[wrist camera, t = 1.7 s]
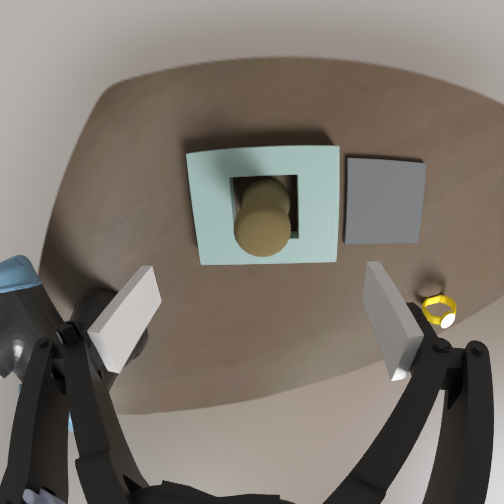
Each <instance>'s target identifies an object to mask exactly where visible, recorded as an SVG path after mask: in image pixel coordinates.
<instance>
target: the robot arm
mask: <svg viewBox="0 0 504 504" xmlns="http://www.w3.org/2000/svg"><path fill="white" fill-rule="evenodd" d="M42 283H43V281H42V280H41V279H40V278H39V277H38V275H37V273H36V272H35V270H34V268H33V266H32V264H31V262H30V261H29V259H27V257H25V256H23V255H17V256H14V257H11V258H9V259H7V260H5V261H3V262H1V263H0V379H4V378H6V377H7V376H8V375H9V374H10V373H11V372H12V371H13V372H14V373H15V374H16V375H17V377H18V378H19V379H20V380H21V382H22V384H20V385H19V389H18V392H19V398H18V402H17V407H16V411H15V416H14V421H13V427H12V433H11V440H10V447H9V455H8V465H7V468H6V471H5V474H4V476H3V479H2V482H1V485H0V504H68V494H69V493H68V461H67V459H68V458H67V456H68V453H67V451H68V430H69V431H72V432H74V436H75V440H76V444H77V448H78V452H79V456H80V457H79V459H76V460H75V465H76V470H77V473H78V476H79V480H80V483H81V486H82V489H83V492H84V495H85V498H86V500H87V503H88V504H295V503H293V502H289V501H286V500H282V499H280V495H265V494H244V495H236V496H227V497H216V496H213V495H210V494H207V493H205V492H202V491H200V490H197V489H195V488H192V487H190V486H186V485H182V484H177V483H173V482H169V481H164V480H163V481H162V484H161V485H155V486H149V484H148V483H147V482H146V480H145V479H144V478H143V477H142V475H141V473H140V471H139V469H138V467H137V465H136V463H135V461H134V458H133V456H132V454H131V452H130V449H129V447H128V445H127V442H126V440H125V438H124V435H123V432H122V430H121V427H120V424H119V421H118V419H117V416H116V413H115V410H114V407H113V404H112V401H111V398H110V394H109V391H110V389H111V387H112V385H113V383H114V381H115V379H116V377H117V375H118V374H119V373H120V372H121V370H122V368H124V367H125V366H126V365H127V364H128V363H129V362H130V361H131V360H132V359H135V358H136V357H138V356H139V355H140V354H141V352H142V351H143V349H144V347H145V345H146V343H147V339H148V333H147V328H146V327H147V325H148V323H149V322H150V320H151V318H152V317H153V315H154V313H155V312H156V310H157V309H158V307H159V305H160V304H161V298H160V294H159V291H158V287H157V283H156V279H155V275H154V271H153V267H152V266H141V267H140V268H139V270H138V271H137V272H136V273H135V274H134V275H133V276H132V278H131V279H130V280H129V281H128V282H127V283H126V284H125V286H124V287H123V288H122V289H121V290H120V291H119V293H118V294H116V293H114V292H112V291H109V290H106V289H102V288H92V289H89V290H87V291H86V292H84V293H83V295H82V296H81V297H80V298H79V299H78V300H77V302H76V304H75V307H74V311H73V313H72V315H71V318H70V320H69V321H66V322H64V321H63V319H62V318H61V316H60V314H59V313H58V311H57V310H56V308H55V306H54V305H53V303H52V301H51V299H50V298H49V296H48V294H47V292H46V290H45V288H44V287H43V285H42ZM362 303H363V305H364V308H365V310H366V313H367V315H368V318H369V320H370V323H371V325H372V328H373V331H374V333H375V336H376V339H377V341H378V344H379V347H380V350H381V352H382V355H383V358H384V361H385V364H386V367H387V370H388V373H389V376H390V379H391V381H394V380H400V379H405V378H406V376H407V374H408V372H409V370H410V373H411V375H412V377H411V379H410V381H409V383H408V385H407V387H406V389H405V391H404V393H403V394H402V396H401V398H400V400H399V402H398V403H397V405H396V407H395V408H394V410H393V412H392V413H391V415H390V417H389V418H388V420H387V422H386V423H385V425H384V426H383V428H382V430H381V431H380V433H379V434H378V436H377V437H376V438H375V440H374V441H373V443H372V444H371V446H370V447H369V449H368V450H367V451H366V453H365V454H364V455H363V457H362V458H361V459H360V461H359V462H358V463H357V465H356V466H355V467H354V469H353V470H352V471H351V472H350V473H349V475H348V476H347V477H346V478H345V479H344V480H343V482H342V483H341V484H340V485H339V486H338V487H337V489H336V490H335V491H334V492H333V493H332V494H331V495H330V496H329V497H328V498H327V500H326V501H325V502H324V503H323V504H380V503H381V502H382V500H383V499H384V497H385V495H386V491H387V489H388V487H389V486H390V484H391V483H392V481H393V480H394V478H395V477H396V475H397V474H398V472H399V470H400V469H401V467H402V465H403V464H404V462H405V461H406V459H407V457H408V455H409V453H410V452H411V450H412V448H413V446H414V444H415V443H416V440H417V439H418V437H419V435H420V433H421V431H422V429H423V427H424V424H425V422H426V420H427V418H428V416H429V414H430V411H431V409H432V407H433V405H434V402H435V400H436V397H437V395H438V392H439V390H441V389H442V390H445V396H444V406H443V415H442V422H441V429H440V436H439V441H438V446H437V451H436V456H435V461H434V465H433V469H432V473H431V477H430V480H429V484H428V487H427V491H426V494H425V497H424V500H423V503H422V504H484V503H485V499H486V494H487V489H488V483H489V477H490V470H491V461H492V451H493V435H494V404H493V403H494V401H493V385H492V374H491V364H490V357H489V351H488V348H487V347H486V346H485V344H483V343H482V342H479V341H471V342H469V343H468V344H467V346H466V348H465V349H462V348H453V347H452V346H451V344H450V343H449V342H448V341H447V340H445V339H443V338H439V337H438V336H437V335H436V333H435V331H434V330H433V328H432V326H431V325H430V323H429V321H427V318H426V316H425V315H424V313H423V312H422V310H421V309H420V307H418V306H417V305H416V304H415V303H413V302H411V303H405V301H404V300H403V298H402V296H401V295H400V293H399V291H398V290H397V288H396V287H395V285H394V283H393V282H392V280H391V279H390V277H389V276H388V274H387V272H386V271H385V269H384V268H383V266H382V265H381V263H380V262H379V261H375V262H367V269H366V276H365V283H364V289H363V295H362ZM279 500H280V501H279Z"/></svg>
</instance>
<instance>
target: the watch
mask: <svg viewBox="0 0 504 504" xmlns="http://www.w3.org/2000/svg"><path fill="white" fill-rule="evenodd" d="M437 302H441V303H445V304H447V305H448V306H450V307H451V309H452V310H453V312H452V311H448V312H446V313H444V314H443V315H442V316H441V317H440V316H434V315H432V314H430V313H429V312H428V311H427V310H426V308H425V307H426V306H427V305H430V304H434V303H437ZM422 312H423V313H424V315H425V316H426V318H427V321H429V322H431V323H434V324H440V326H441V327H442V328H446V327H448V326H450V325H451V324H452V323H453V321H454V319H455V313H456V304H455V302H454V301H453V300H452V299H451V298H449V297H447V296H444V295H440V294H439V295H438V296H434V297H430V298H426V299H425V301H424V302H423V306H422Z"/></svg>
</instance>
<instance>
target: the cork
mask: <svg viewBox="0 0 504 504" xmlns="http://www.w3.org/2000/svg"><path fill="white" fill-rule="evenodd" d="M290 202H291V200H290V196H289V193H288V192H287V190H286V189H285V187H284V186H283V185H281V184H280V183H279V182H277V181H274V180H272V179H261V180H257V181H254V182H253V183H251V184H250V185H249V186H248V187H247V188H246V189H245V191H244V193H243V196H242V209H241V210H240V211H239V213H238V214H237V216H236V219H235V221H234V235H235V238H236V241H237V243H238V244H239V246H240V247H241V249H243V250H244V251H245V252H247V253H248V254H251V255H253V256H256V257H268V256H272V255H274V254H276V253H278V252H280V251H281V250H282V249H283V248H284V247H285V245H286V244H287V242H288V240H289V238H290V234H291V224H290V221H289V217H288V213H289V210H290Z"/></svg>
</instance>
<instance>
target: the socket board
mask: <svg viewBox="0 0 504 504" xmlns="http://www.w3.org/2000/svg"><path fill="white" fill-rule="evenodd" d="M186 158H187V167H188V176H189V184H190V192H191V200H192V208H193V215H194V222H195V229H196V236H197V242H198V249H199V255H200V261H201V265H228V264H274V263H311V262H336V256H337V240H338V219H339V146H336V145H277V146H255V147H240V148H228V149H217V150H207V151H198V152H191V153H188V154H186ZM266 175H296V181H297V231H291V234H290V238H289V240H288V242H287V244H286V245H285V247H284V248H283V249H282V250H281V251H280V252H278V253H276V254H274V255H272V256H268V257H256V256H253V255H251V254H248V253H247V252H245V251H244V250H243V249H241V247H240V246H239V244H238V243H237V241H236V238H235V235H234V221H235V219H236V208H235V197H234V186H233V177H246V176H266Z"/></svg>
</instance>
